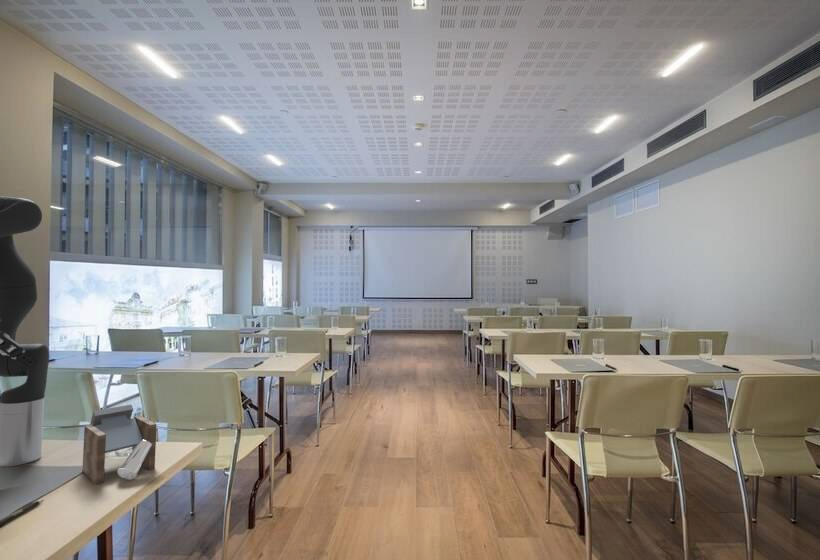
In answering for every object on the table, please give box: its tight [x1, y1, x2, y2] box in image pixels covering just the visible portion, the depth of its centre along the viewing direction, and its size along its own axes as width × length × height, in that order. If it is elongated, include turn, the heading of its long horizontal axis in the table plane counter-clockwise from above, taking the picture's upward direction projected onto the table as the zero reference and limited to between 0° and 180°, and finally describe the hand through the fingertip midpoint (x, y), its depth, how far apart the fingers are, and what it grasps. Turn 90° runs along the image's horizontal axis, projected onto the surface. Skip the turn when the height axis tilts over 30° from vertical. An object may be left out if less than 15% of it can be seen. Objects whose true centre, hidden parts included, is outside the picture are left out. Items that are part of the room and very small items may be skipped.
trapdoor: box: [89, 404, 143, 454], centre depth 112 cm, size 13×9×6 cm
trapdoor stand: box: [81, 415, 157, 485], centre depth 109 cm, size 13×13×12 cm
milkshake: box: [116, 440, 152, 481], centre depth 104 cm, size 4×5×10 cm
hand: (31, 363), depth 97 cm, fingers open, 8 cm apart
